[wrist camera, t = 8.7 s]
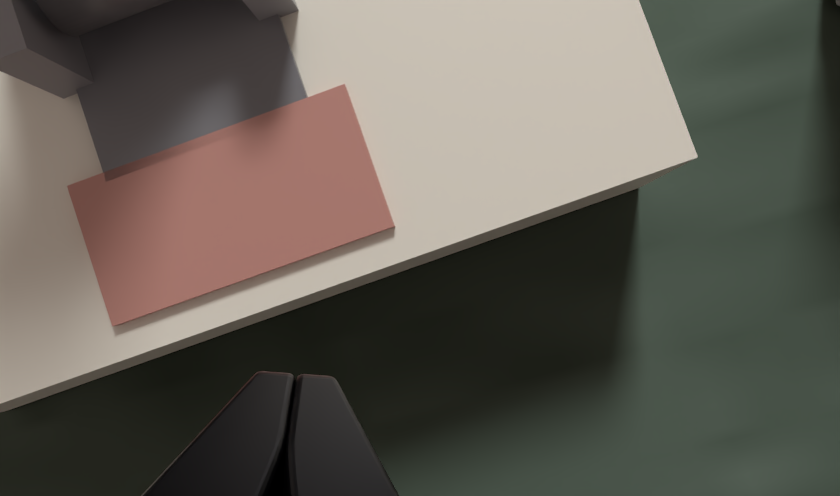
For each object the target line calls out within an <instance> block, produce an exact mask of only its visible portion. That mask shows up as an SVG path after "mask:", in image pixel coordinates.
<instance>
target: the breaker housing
mask: <svg viewBox="0 0 840 496" xmlns="http://www.w3.org/2000/svg"><path fill="white" fill-rule="evenodd" d="M697 157H698V156H697V154H696V151H695V148H694V146H693V143H692V140H691V138H690V135H689V132H688V130H687V127H686V124H685V122H684V119H683V116H682V114H681V111H680V109H679V106H678V103H677V101H676V98H675V95H674V93H673V90H672V87H671V85H670V82H669V79H668V77H667V74H666V71H665V69H664V66H663V63H662V61H661V58H660V55H659V53H658V50H657V47H656V45H655V42H654V39H653V37H652V34H651V31H650V29H649V26H648V24H647V21H646V18H645V16H644V13H643V10H642V8H641V5H640V2H639V0H171V1H169V2H166V3H163V4H161V5H158V6H156V7H153V8H150V9H148V10H145V11H142V12H140V13H137V14H134V15H132V16H129V17H127V18H124V19H121V20H119V21H116V22H113V23H111V24H108V25H105V26H103V27H100V28H97V29H95V30H92V31H90V32H87V33H84V34H82V35H79V36H76V37H71V36H68V35H66V34H65V33H63V32H62V31H61V30H59V29H58V28H57V27H56V26H55V25H54V24H53V23H52V22H51V21H50V20H49V18H48V17H47V16H46V15H45V13H44V12H43V11H42V9H41V8H40V7H39V5H38V4H37V2H36V1H35V0H0V413H1V412H4V411H7V410H11V409H13V408H16V407H19V406H22V405H25V404H28V403H30V402H33V401H36V400H39V399H42V398H45V397H47V396H50V395H53V394H56V393H59V392H62V391H64V390H67V389H70V388H73V387H76V386H79V385H82V384H84V383H87V382H90V381H93V380H96V379H99V378H101V377H104V376H107V375H110V374H113V373H116V372H118V371H121V370H124V369H127V368H130V367H133V366H135V365H138V364H141V363H144V362H147V361H150V360H152V359H155V358H158V357H161V356H164V355H167V354H169V353H172V352H175V351H178V350H181V349H184V348H186V347H189V346H192V345H195V344H198V343H201V342H203V341H206V340H209V339H212V338H215V337H218V336H220V335H223V334H226V333H229V332H232V331H235V330H237V329H240V328H243V327H246V326H249V325H252V324H254V323H257V322H260V321H263V320H266V319H269V318H271V317H274V316H277V315H280V314H283V313H286V312H288V311H291V310H294V309H297V308H300V307H303V306H305V305H308V304H311V303H314V302H317V301H320V300H322V299H325V298H328V297H331V296H334V295H337V294H339V293H342V292H345V291H348V290H351V289H354V288H357V287H359V286H362V285H365V284H368V283H371V282H374V281H376V280H379V279H382V278H385V277H388V276H391V275H393V274H396V273H399V272H402V271H405V270H408V269H410V268H413V267H416V266H419V265H422V264H425V263H427V262H430V261H433V260H436V259H439V258H442V257H444V256H447V255H450V254H453V253H456V252H459V251H461V250H464V249H467V248H470V247H473V246H476V245H478V244H481V243H484V242H487V241H490V240H493V239H495V238H498V237H501V236H504V235H507V234H510V233H512V232H515V231H518V230H521V229H524V228H527V227H529V226H532V225H535V224H538V223H541V222H544V221H546V220H549V219H552V218H555V217H558V216H561V215H563V214H566V213H569V212H572V211H575V210H578V209H580V208H583V207H586V206H589V205H592V204H595V203H597V202H600V201H603V200H606V199H609V198H612V197H615V196H617V195H620V194H623V193H626V192H629V191H632V190H634V189H637V188H640V187H642V186H644V185H646V184H647V183H649V182H651V181H653V180H655V179H657V178H659V177H661V176H663V175H665V174H667V173H668V172H670V171H672V170H674V169H676V168H678V167H680V166H682V165H684V164H686V163H688V162H690V161H691V160H693V159H695V158H697Z"/></svg>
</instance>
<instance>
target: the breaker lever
mask: <svg viewBox="0 0 840 496" xmlns="http://www.w3.org/2000/svg"><path fill="white" fill-rule="evenodd" d="M35 1H36V2H37V4H38V5H39V7H40V8H41V9H42V11H43V12H44V13H45V15H46V16H47V17H48V18H49V20H50V21H51V22H52V23H53V24H54V25H55V26H56V27H57V28H58V29H59V30H61V31H62V32H63V33H65V34H66V35H68V36H71V37H76V36H79V35H82V34H84V33H87V32H90V31H92V30H95V29H97V28H100V27H103V26H105V25H108V24H111V23H113V22H116V21H119V20H121V19H124V18H127V17H129V16H132V15H134V14H137V13H140V12H142V11H145V10H148V9H150V8H153V7H156V6H158V5H161V4H163V3H166V2H169V1H171V0H35Z"/></svg>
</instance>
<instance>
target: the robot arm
mask: <svg viewBox="0 0 840 496" xmlns="http://www.w3.org/2000/svg"><path fill="white" fill-rule="evenodd" d="M141 496H399V495H398V493H397V491H396V489H395V487H394V486H393V484H392V482H391V480H390V478H389V476H388V474H387V473H386V471H385V469H384V467H383V465H382V463H381V461H380V460H379V458H378V456H377V454H376V452H375V450H374V448H373V446H372V445H371V443H370V441H369V439H368V437H367V435H366V433H365V432H364V430H363V428H362V426H361V424H360V422H359V420H358V419H357V417H356V415H355V413H354V411H353V409H352V407H351V406H350V404H349V402H348V400H347V398H346V396H345V394H344V392H343V391H342V389H341V387H340V385H339V383H338V382H337V380H336V379H335V378H334V377H332V376H326V375H311V374H301V375H299V376H298V377H297V379H296V382H295V377H294V375H292V374H291V373H282V372H268V371H260V372H257V373H255V374H254V375H253V376H252V377H251V378H250V379H249V381H248V382H247V383H246V384H245V385H244V386H243V387H242V388H241V389H240V390H239V391H238V392H237V393H236V394H235V396H234V397H233V398H232V399H231V400H230V401H229V402H228V403H227V404H226V405H225V406H224V407H223V408H222V409H221V410H220V412H219V413H218V414H217V415H216V416H215V417H214V418H213V419H212V420H211V421H210V422H209V423H208V424H207V425H206V427H205V428H204V429H203V430H202V431H201V432H200V433H199V434H198V435H197V436H196V437H195V438H194V439H193V440H192V441H191V443H190V444H189V445H188V446H187V447H186V448H185V449H184V450H183V451H182V452H181V453H180V454H179V455H178V456H177V458H176V459H175V460H174V461H173V462H172V463H171V464H170V465H169V466H168V467H167V468H166V469H165V470H164V471H163V472H162V474H161V475H160V476H159V477H158V478H157V479H156V480H155V481H154V482H153V483H152V484H151V485H150V486H149V487H148V489H147V490H146V491H145V492H144V493H143V494H142V495H141Z"/></svg>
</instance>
